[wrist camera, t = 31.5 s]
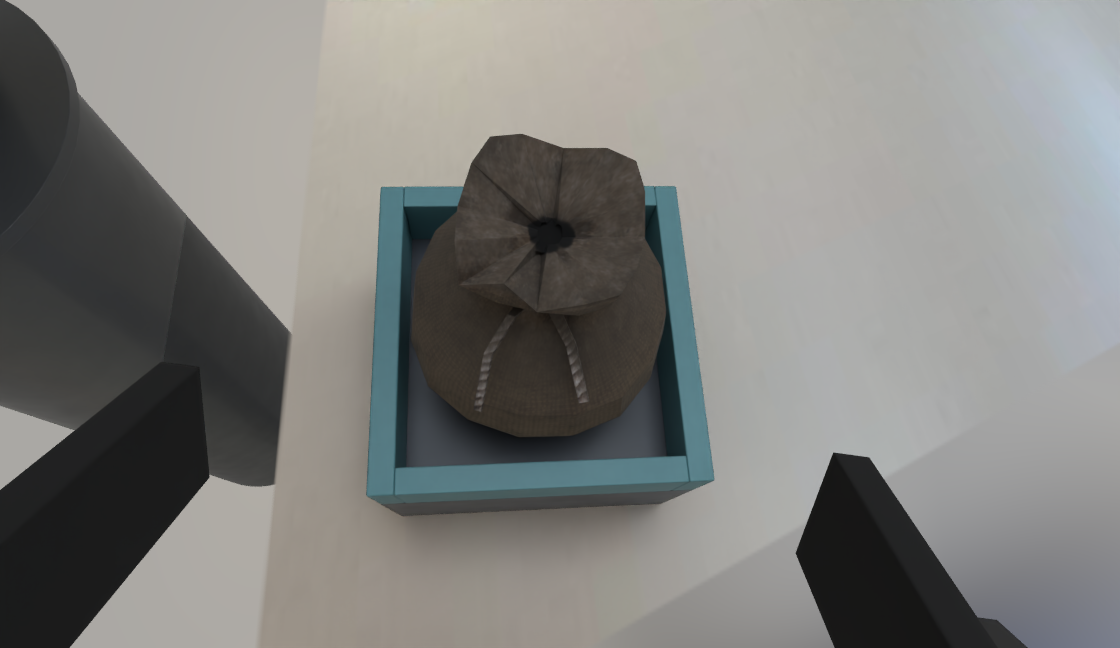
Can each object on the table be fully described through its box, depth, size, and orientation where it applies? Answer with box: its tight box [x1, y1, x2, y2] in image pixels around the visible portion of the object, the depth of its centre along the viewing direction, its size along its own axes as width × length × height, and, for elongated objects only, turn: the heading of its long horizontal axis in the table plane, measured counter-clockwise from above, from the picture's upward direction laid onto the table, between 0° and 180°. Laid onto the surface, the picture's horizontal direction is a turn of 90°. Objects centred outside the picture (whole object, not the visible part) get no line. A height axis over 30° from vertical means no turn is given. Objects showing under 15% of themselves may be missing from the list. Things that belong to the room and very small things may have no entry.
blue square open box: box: [366, 186, 714, 516], centre depth 31 cm, size 13×13×9 cm
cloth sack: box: [411, 134, 666, 437], centre depth 24 cm, size 10×10×12 cm
